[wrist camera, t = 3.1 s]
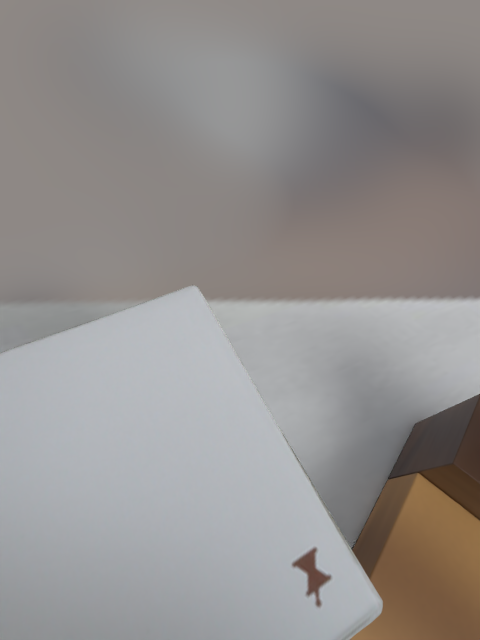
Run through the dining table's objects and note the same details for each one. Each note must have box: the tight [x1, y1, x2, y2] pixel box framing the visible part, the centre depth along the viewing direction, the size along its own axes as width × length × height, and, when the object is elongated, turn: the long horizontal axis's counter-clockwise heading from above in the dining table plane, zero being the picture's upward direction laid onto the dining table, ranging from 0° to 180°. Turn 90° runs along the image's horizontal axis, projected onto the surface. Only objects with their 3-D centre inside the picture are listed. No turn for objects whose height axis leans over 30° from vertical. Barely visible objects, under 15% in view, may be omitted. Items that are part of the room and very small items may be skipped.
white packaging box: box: [0, 286, 383, 640], centre depth 11 cm, size 7×7×13 cm
